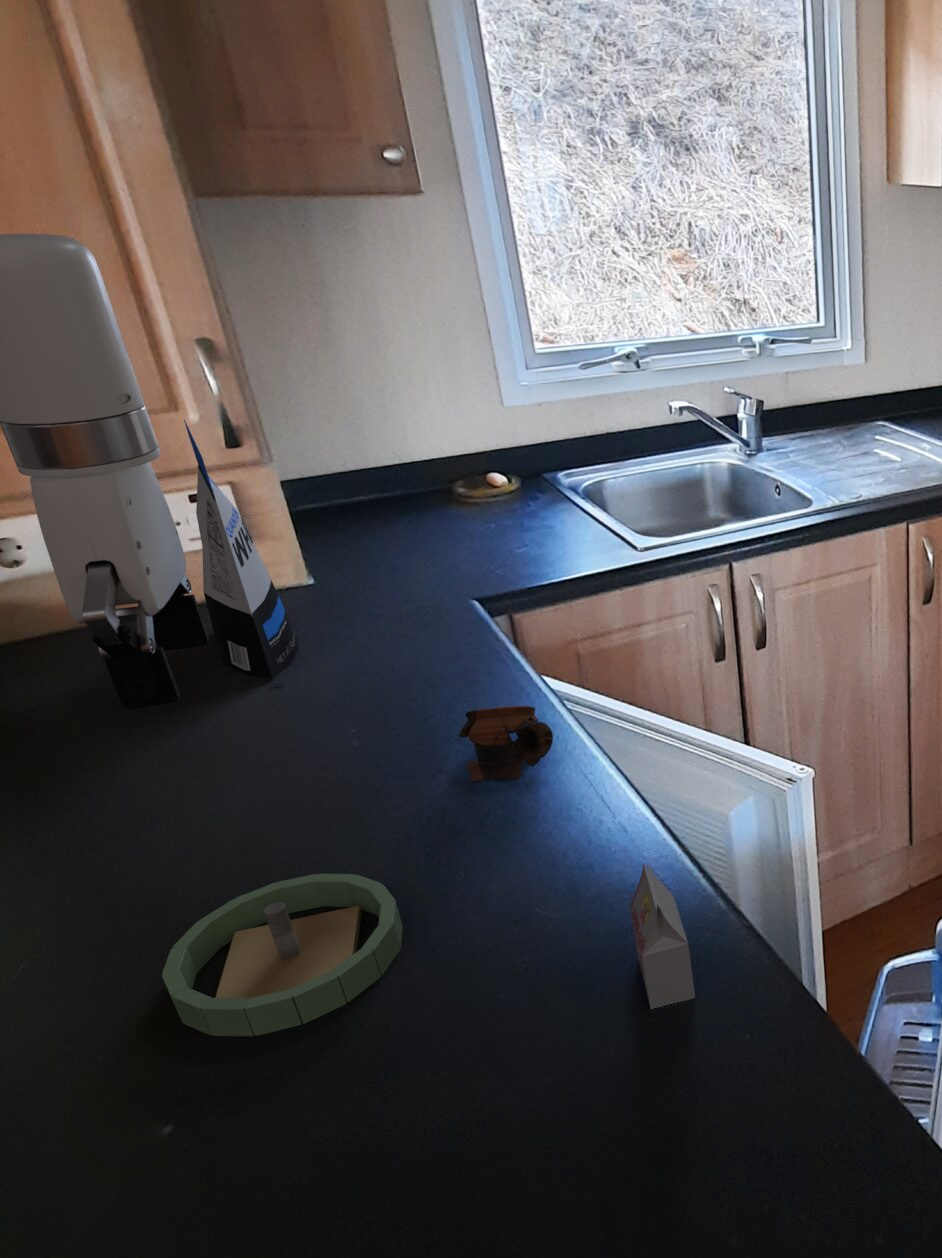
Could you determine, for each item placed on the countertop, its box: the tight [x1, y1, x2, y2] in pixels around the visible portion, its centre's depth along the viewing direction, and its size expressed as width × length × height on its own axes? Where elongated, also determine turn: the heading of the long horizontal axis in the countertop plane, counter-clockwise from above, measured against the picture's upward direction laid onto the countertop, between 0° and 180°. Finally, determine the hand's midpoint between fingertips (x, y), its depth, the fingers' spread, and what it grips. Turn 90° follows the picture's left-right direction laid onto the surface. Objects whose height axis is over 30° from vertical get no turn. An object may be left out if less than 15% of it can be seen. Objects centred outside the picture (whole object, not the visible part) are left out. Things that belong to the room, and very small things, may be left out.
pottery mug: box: [458, 705, 554, 782], centre depth 121 cm, size 12×10×8 cm
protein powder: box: [183, 419, 300, 681], centre depth 141 cm, size 10×24×30 cm, turn 38°
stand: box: [214, 902, 363, 998], centre depth 91 cm, size 10×10×6 cm
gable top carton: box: [629, 862, 696, 1011], centre depth 89 cm, size 4×7×10 cm, turn 24°
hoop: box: [161, 873, 404, 1037], centre depth 91 cm, size 17×17×3 cm
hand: (169, 673), depth 76 cm, fingers open, 9 cm apart
